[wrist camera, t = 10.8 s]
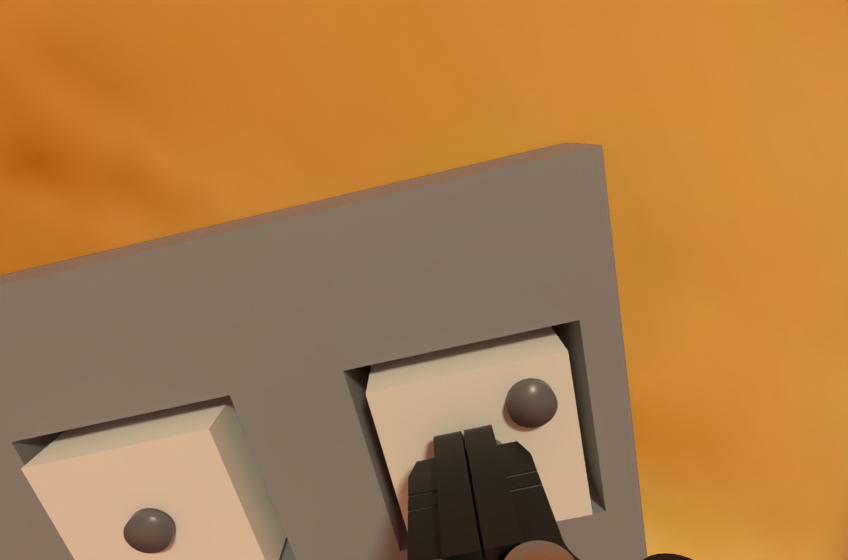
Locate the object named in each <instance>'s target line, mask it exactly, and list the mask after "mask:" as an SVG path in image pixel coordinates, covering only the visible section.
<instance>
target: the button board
mask: <svg viewBox="0 0 848 560" xmlns="http://www.w3.org/2000/svg"><path fill="white" fill-rule="evenodd" d="M554 325H557V326H558V333H559V339H560V340H561V342H562V343H563V344H564V346H565V347H566V349H567V350H568V354H569V360H570V367H571V374H572V380H573V387H574V394H575V400H576V407H577V414H578V420H579V427H580V434H581V440H582V447H583V454H584V460H585V467H586V474H587V480H588V487H589V494H590V500H591V507H592V514H593V515H588V516H582V517H577V518H572V519H567V520H562V521H556V522H557V525H558V528H559V530H560V533H561V536H562V538H563V541H564V543H565V545H566V546H567V547H568V549H569V550H570V551H571V552H572V553H573V554H574V555H575V556H576V557H577V558H578V559H580V560H643V559H645V558H647V551H646V542H645V533H644V524H643V515H642V506H641V497H640V487H639V478H638V469H637V460H636V451H635V442H634V433H633V424H632V415H631V405H630V396H629V387H628V378H627V369H626V360H625V351H624V342H623V333H622V323H621V314H620V305H619V296H618V287H617V278H616V269H615V260H614V251H613V241H612V232H611V223H610V214H609V205H608V196H607V187H606V178H605V169H604V159H603V150H602V145H593V144H579V143H563V144H559V145H555V146H550V147H546V148H542V149H538V150H533V151H529V152H525V153H521V154H516V155H512V156H508V157H504V158H499V159H495V160H491V161H487V162H482V163H478V164H474V165H470V166H465V167H461V168H457V169H453V170H448V171H444V172H440V173H436V174H431V175H427V176H423V177H419V178H414V179H410V180H406V181H402V182H397V183H393V184H389V185H385V186H380V187H376V188H372V189H368V190H363V191H359V192H355V193H351V194H346V195H342V196H338V197H334V198H329V199H325V200H321V201H317V202H312V203H308V204H304V205H300V206H295V207H291V208H287V209H283V210H278V211H274V212H270V213H266V214H261V215H257V216H253V217H249V218H244V219H240V220H236V221H232V222H227V223H223V224H219V225H215V226H210V227H206V228H202V229H198V230H193V231H189V232H185V233H181V234H176V235H172V236H168V237H164V238H159V239H155V240H151V241H147V242H142V243H138V244H134V245H130V246H125V247H121V248H117V249H113V250H108V251H104V252H100V253H96V254H91V255H87V256H83V257H79V258H74V259H70V260H66V261H62V262H57V263H53V264H49V265H45V266H40V267H36V268H32V269H28V270H23V271H19V272H15V273H11V274H6V275H2V276H0V560H74V558H73V556H72V555H71V553H70V551H69V549H68V548H67V546H66V544H65V543H64V541H63V539H62V538H61V536H60V534H59V532H58V531H57V529H56V527H55V526H54V524H53V522H52V521H51V519H50V517H49V516H48V514H47V512H46V510H45V509H44V507H43V505H42V504H41V502H40V500H39V499H38V497H37V495H36V493H35V492H34V490H33V488H32V487H31V485H30V483H29V482H28V480H27V478H26V477H25V475H24V473H23V471H22V470H21V468H22V467H23V466H25V465H26V464H27V463H28V462H29V461H30V460H32V459H33V458H34V457H35V456H36V455H37V454H39V453H40V452H41V451H42V450H43V449H44V448H46V447H47V446H48V445H49V444H50V443H52V442H53V441H54V440H55V439H56V438H57V437H59V436H60V435H61V434H62V433H63V432H64V431H66V430H70V429H75V428H80V427H84V426H89V425H94V424H98V423H103V422H108V421H112V420H117V419H122V418H126V417H131V416H135V415H140V414H145V413H149V412H154V411H159V410H163V409H168V408H173V407H177V406H182V405H187V404H191V403H196V402H201V401H205V400H210V399H215V398H219V397H224V396H228V395H230V397H231V400H232V402H233V405H234V407H235V410H236V412H237V415H238V417H239V420H240V422H241V425H242V427H243V429H244V432H245V434H246V437H247V439H248V442H249V444H250V447H251V449H252V452H253V454H254V457H255V459H256V462H257V464H258V467H259V469H260V472H261V474H262V477H263V479H264V481H265V484H266V486H267V489H268V491H269V494H270V496H271V499H272V501H273V504H274V506H275V509H276V511H277V514H278V516H279V519H280V521H281V524H282V526H283V528H284V531H285V533H286V536H287V537H286V540H285V543H284V546H283V549H282V552H281V555H280V559H279V560H407V552H408V532H407V529H406V525H405V522H404V519H403V516H402V512H401V509H400V506H399V502H398V499H397V496H396V493H395V489H394V486H393V483H392V479H391V476H390V473H389V469H388V466H387V463H386V460H385V456H384V453H383V450H382V446H381V443H380V440H379V437H378V433H377V430H376V427H375V423H374V420H373V417H372V413H371V410H370V407H369V404H368V400H367V397H366V389H367V384H368V379H369V375H368V371H367V368H366V366H368V365H373V364H377V363H382V362H387V361H391V360H396V359H401V358H405V357H410V356H415V355H419V354H424V353H428V352H433V351H438V350H442V349H447V348H452V347H456V346H461V345H466V344H470V343H475V342H480V341H484V340H489V339H494V338H498V337H503V336H508V335H512V334H517V333H521V332H526V331H531V330H535V329H540V328H545V327H549V326H554Z"/></svg>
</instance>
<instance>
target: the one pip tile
mask: <svg viewBox="0 0 848 560" xmlns="http://www.w3.org/2000/svg"><path fill="white" fill-rule="evenodd" d="M21 470H22V471H23V473H24V475H25V477H26V478H27V480H28V482H29V483H30V485H31V487H32V488H33V490H34V492H35V493H36V495H37V497H38V499H39V500H40V502H41V504H42V505H43V507H44V509H45V510H46V512H47V514H48V516H49V517H50V519H51V521H52V522H53V524H54V526H55V527H56V529H57V531H58V532H59V534H60V536H61V538H62V539H63V541H64V543H65V544H66V546H67V548H68V549H69V551H70V553H71V555H72V556H73V558H74V560H279V559H280V555H281V552H282V549H283V546H284V543H285V540H286V537H287V536H286V533H285V531H284V528H283V526H282V524H281V521H280V519H279V516H278V514H277V511H276V509H275V506H274V504H273V501H272V499H271V496H270V494H269V491H268V489H267V486H266V484H265V481H264V479H263V477H262V474H261V472H260V469H259V467H258V464H257V462H256V459H255V457H254V454H253V452H252V449H251V447H250V444H249V442H248V439H247V437H246V434H245V432H244V429H243V427H242V425H241V422H240V420H239V417H238V415H237V412H236V410H235V407H234V405H233V402H232V400H231V397H230V395H228V396H224V397H219V398H215V399H210V400H205V401H201V402H196V403H191V404H187V405H182V406H177V407H173V408H168V409H163V410H159V411H154V412H149V413H145V414H140V415H135V416H131V417H126V418H122V419H117V420H112V421H108V422H103V423H98V424H94V425H89V426H84V427H80V428H75V429H70V430H66V431H64V432H63V433H62V434H61V435H60V436H59V437H57V438H56V439H55V440H54V441H53V442H52V443H50V444H49V445H48V446H47V447H46V448H44V449H43V450H42V451H41V452H40V453H39V454H37V455H36V456H35V457H34V458H33V459H32V460H30V461H29V462H28V463H27V464H26V465H25V466H23V467H22V468H21Z"/></svg>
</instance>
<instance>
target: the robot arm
mask: <svg viewBox="0 0 848 560" xmlns="http://www.w3.org/2000/svg"><path fill="white" fill-rule="evenodd" d="M464 436H465V442H466V447H467V452H466V448H465V444H464V439H463V435H462V431H458V432H453V433H448V434H443V435H438V436H434V437H433V441H434V455H435V458H432V459H427V460H422V461H417V462H416V464H415V465H414V467H413V469H412V471H411V473H410V475H409V477H408V552H407V560H580V559H578V558H577V557H576V556H575V555H574V554H573V553H572V552H571V551H570V550H569V549H568V547H567V546H566V545H565V543H564V541H563V538H562V536H561V533H560V530H559V528H558V525H557V522H556V520H555V517H554V514H553V512H552V509H551V506H550V504H549V501H548V498H547V496H546V493H545V490H544V487H543V486H542V482H541V479H540V477H539V474H538V472H537V469H536V466H535V463H534V461H533V458H532V455H531V453H530V452H529V451H528V450H527V449H525V448H524V447H523V446H522V445H521V444H520V443H519V442H518V441H515V442H510V443H505V444H500V445H497V443H496V439H495V435H494V432H493V428H492V425H487V426H482V427H477V428H472V429H467V430H464ZM467 453H468V457H467ZM468 459H469V462H468ZM469 464H470V466H469ZM643 560H692V559H690V558H687V557H684V556H681V555H676V554H666V553H664V554H656V555H652V556H649V557H647V558H645V559H643Z"/></svg>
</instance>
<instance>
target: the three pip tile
mask: <svg viewBox="0 0 848 560" xmlns="http://www.w3.org/2000/svg"><path fill="white" fill-rule="evenodd" d="M366 397H367V400H368V404H369V407H370V410H371V413H372V417H373V420H374V423H375V427H376V430H377V433H378V437H379V440H380V443H381V446H382V450H383V453H384V456H385V460H386V463H387V466H388V469H389V473H390V476H391V479H392V483H393V486H394V489H395V493H396V496H397V499H398V502H399V506H400V509H401V512H402V516H403V519H404V522H405V525H406V529H407V532H408V477H409V475H410V473H411V471H412V469H413V467H414V465H415V464H416V462H417V461H422V460H427V459H432V458H435V455H434V441H433V437H434V436H438V435H443V434H448V433H453V432H458V431H462V435H463V439H464V444H465V448H466V452H467V447H466V442H465V436H464V430H467V429H472V428H477V427H482V426H487V425H492V428H493V432H494V435H495V439H496V443H497V445H500V444H505V443H510V442H515V441H518V442H519V443H520V444H521V445H522V446H523V447H524V448H525V449H527V450H528V451H529V452H530V453H531V455H532V458H533V461H534V463H535V466H536V469H537V472H538V474H539V477H540V479H541V482H542V486H543V487H544V490H545V493H546V496H547V498H548V501H549V504H550V506H551V509H552V512H553V514H554V517H555V520H556V521H562V520H567V519H572V518H577V517H582V516H588V515H593V514H592V507H591V500H590V494H589V487H588V480H587V474H586V467H585V460H584V454H583V447H582V440H581V434H580V427H579V420H578V414H577V407H576V400H575V394H574V387H573V380H572V374H571V367H570V360H569V354H568V350H567V349H566V347H565V346H564V344H563V343H562V342H561V340H560V339H559V337H558V336H557V334H556V333H555V331H554V330H553V329H552V327H551V326H549V327H545V328H540V329H535V330H531V331H526V332H521V333H517V334H512V335H508V336H503V337H498V338H494V339H489V340H484V341H480V342H475V343H470V344H466V345H461V346H456V347H452V348H447V349H442V350H438V351H433V352H428V353H424V354H419V355H415V356H410V357H405V358H401V359H396V360H391V361H387V362H382V363H377V364H373V365H371V369H370V374H369V379H368V384H367V389H366ZM467 457H468V453H467ZM468 462H469V459H468ZM469 466H470V464H469Z"/></svg>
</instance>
